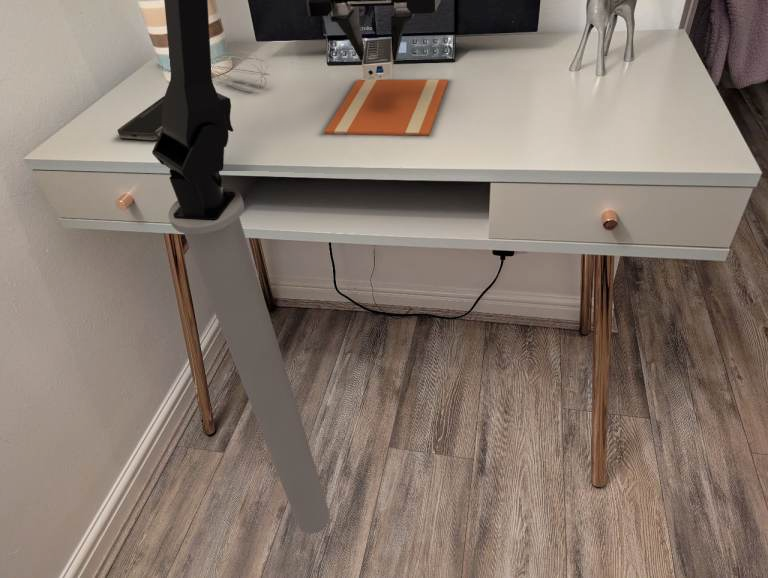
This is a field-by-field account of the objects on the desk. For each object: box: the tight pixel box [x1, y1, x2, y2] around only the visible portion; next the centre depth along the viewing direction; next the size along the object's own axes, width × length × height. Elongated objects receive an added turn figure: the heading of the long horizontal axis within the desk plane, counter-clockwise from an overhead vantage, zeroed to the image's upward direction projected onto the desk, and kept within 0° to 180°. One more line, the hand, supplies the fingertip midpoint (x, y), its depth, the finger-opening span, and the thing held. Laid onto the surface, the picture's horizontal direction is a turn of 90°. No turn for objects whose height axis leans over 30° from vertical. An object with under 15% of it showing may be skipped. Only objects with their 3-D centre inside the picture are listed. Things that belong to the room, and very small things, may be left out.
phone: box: [117, 95, 165, 142], centre depth 97 cm, size 8×1×15 cm
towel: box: [324, 78, 449, 136], centre depth 93 cm, size 20×16×1 cm
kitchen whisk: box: [211, 51, 271, 92], centre depth 109 cm, size 6×34×6 cm, turn 50°
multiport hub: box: [361, 38, 395, 80], centre depth 88 cm, size 4×11×2 cm, turn 179°
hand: (378, 59), depth 88 cm, fingers closed on multiport hub, 5 cm apart
